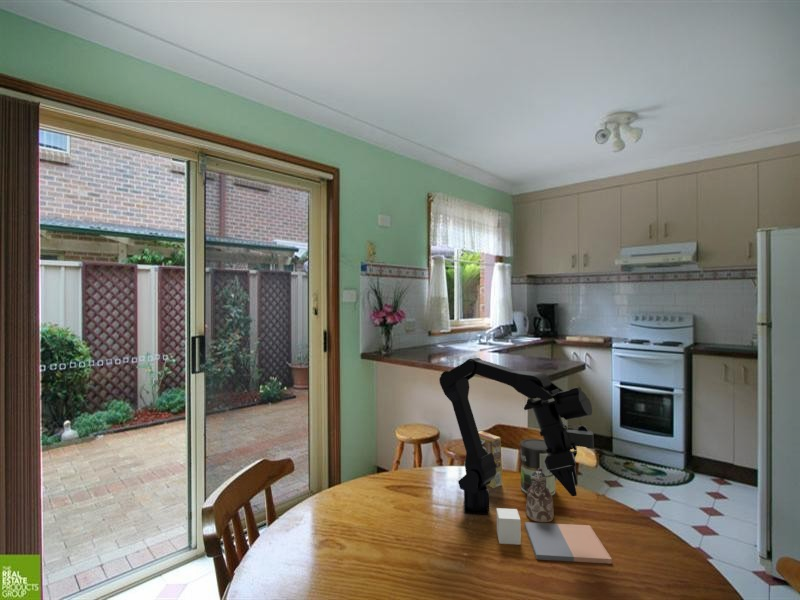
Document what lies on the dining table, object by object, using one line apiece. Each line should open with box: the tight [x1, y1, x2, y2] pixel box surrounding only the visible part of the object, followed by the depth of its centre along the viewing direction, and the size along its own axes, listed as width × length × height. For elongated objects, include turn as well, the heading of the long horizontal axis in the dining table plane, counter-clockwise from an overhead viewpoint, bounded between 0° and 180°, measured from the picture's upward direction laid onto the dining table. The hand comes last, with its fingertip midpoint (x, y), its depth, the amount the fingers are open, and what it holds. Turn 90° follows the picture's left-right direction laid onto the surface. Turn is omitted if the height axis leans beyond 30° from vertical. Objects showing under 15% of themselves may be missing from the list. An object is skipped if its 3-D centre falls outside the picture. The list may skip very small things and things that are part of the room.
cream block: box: [496, 507, 522, 546], centre depth 100 cm, size 5×5×6 cm
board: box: [524, 521, 613, 565], centre depth 97 cm, size 16×14×1 cm
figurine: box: [525, 468, 555, 523], centre depth 110 cm, size 7×7×12 cm
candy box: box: [478, 430, 503, 489], centre depth 132 cm, size 9×4×15 cm, turn 33°
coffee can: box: [519, 438, 556, 497], centre depth 126 cm, size 10×10×14 cm
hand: (575, 490), depth 96 cm, fingers open, 9 cm apart
